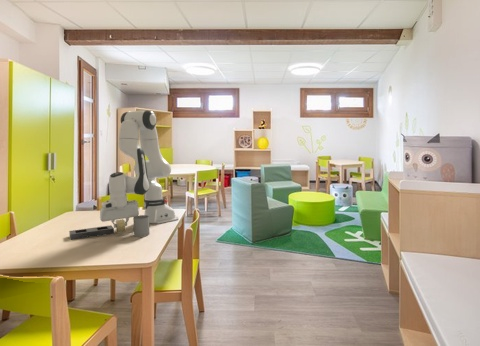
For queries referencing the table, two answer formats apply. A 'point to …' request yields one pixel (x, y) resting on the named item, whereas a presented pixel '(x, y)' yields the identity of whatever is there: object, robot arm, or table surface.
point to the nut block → (120, 226)
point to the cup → (141, 225)
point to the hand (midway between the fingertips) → (120, 226)
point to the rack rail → (91, 232)
